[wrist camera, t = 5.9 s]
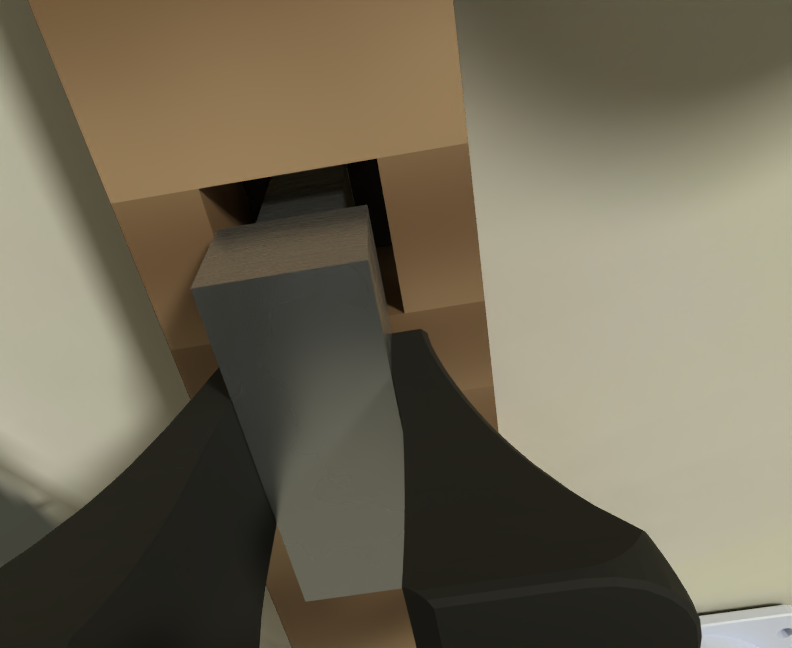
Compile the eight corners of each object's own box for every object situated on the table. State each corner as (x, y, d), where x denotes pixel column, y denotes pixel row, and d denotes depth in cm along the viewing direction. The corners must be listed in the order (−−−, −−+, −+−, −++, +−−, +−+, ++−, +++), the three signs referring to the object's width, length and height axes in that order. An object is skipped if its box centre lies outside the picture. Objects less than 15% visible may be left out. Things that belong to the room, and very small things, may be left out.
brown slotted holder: (504, 577, 21) (522, 668, 19) (317, 603, 22) (311, 696, 19) (392, -389, 10) (401, -490, 7) (-4, -307, 10) (-126, -375, 8)
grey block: (415, 403, 18) (433, 583, 13) (320, 417, 18) (305, 601, 13) (366, 140, 14) (368, 260, 9) (247, 160, 14) (190, 288, 9)
